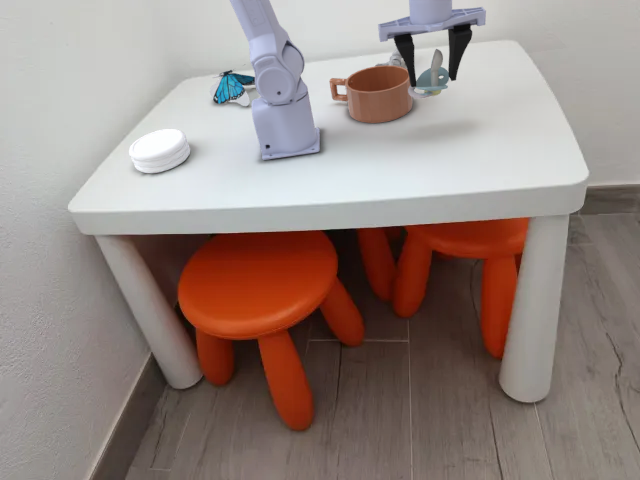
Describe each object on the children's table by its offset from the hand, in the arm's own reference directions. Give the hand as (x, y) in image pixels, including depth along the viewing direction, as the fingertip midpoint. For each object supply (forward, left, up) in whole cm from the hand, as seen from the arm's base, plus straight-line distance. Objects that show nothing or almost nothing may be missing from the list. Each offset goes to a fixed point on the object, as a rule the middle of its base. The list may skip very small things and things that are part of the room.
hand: (432, 81), depth 76 cm
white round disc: (-46, +4, -9) cm, 47 cm away
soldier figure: (-3, +27, -9) cm, 29 cm away
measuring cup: (-9, +12, -8) cm, 18 cm away
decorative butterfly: (-36, +27, -6) cm, 46 cm away
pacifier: (-1, 0, -2) cm, 2 cm away
